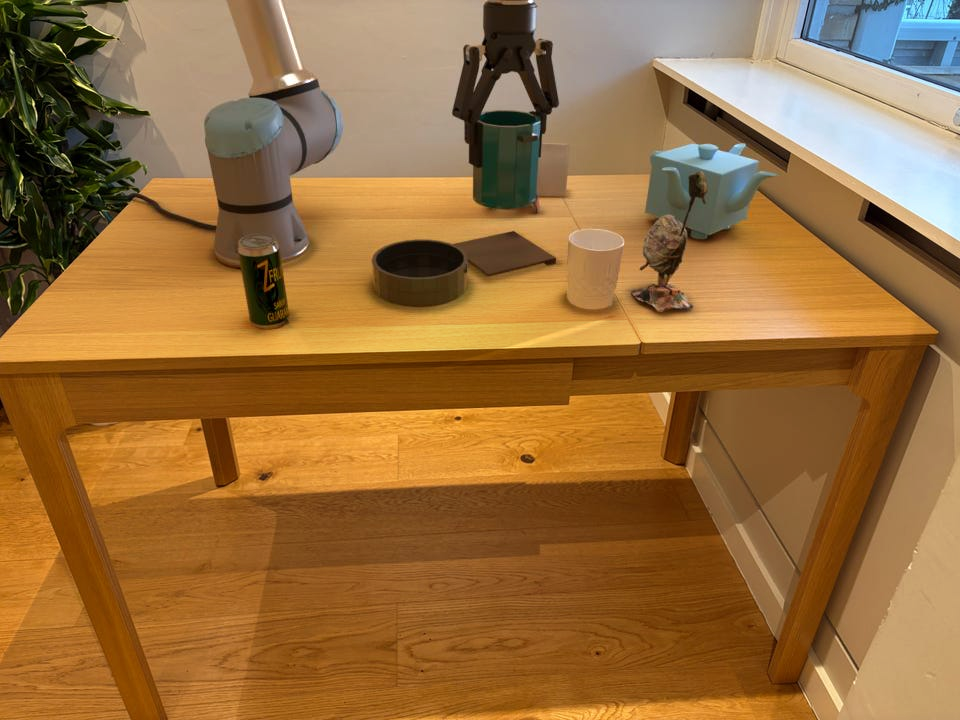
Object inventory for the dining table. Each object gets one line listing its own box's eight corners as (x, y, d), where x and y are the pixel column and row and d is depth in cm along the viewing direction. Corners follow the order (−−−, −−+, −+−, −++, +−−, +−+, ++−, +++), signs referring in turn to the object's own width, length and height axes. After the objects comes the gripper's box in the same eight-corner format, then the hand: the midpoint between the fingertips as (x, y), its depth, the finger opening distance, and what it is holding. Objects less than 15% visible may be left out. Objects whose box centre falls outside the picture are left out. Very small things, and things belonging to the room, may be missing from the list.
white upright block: (565, 196, 146) (569, 147, 140) (532, 195, 146) (535, 145, 141) (565, 190, 149) (569, 141, 143) (532, 189, 149) (535, 140, 144)
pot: (456, 191, 118) (456, 112, 111) (508, 181, 122) (511, 105, 115) (499, 217, 108) (501, 132, 101) (553, 206, 112) (559, 124, 106)
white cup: (581, 285, 112) (587, 224, 107) (626, 300, 108) (634, 238, 103) (552, 303, 107) (557, 240, 102) (598, 320, 103) (605, 255, 97)
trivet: (448, 250, 123) (448, 244, 122) (513, 236, 128) (513, 230, 128) (488, 280, 113) (488, 274, 113) (555, 263, 119) (556, 257, 118)
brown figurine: (672, 280, 114) (694, 154, 103) (697, 315, 105) (725, 180, 94) (622, 282, 113) (639, 155, 103) (643, 316, 104) (664, 181, 93)
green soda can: (242, 324, 100) (227, 243, 94) (269, 308, 104) (256, 230, 98) (271, 334, 98) (258, 252, 92) (298, 317, 102) (287, 238, 96)
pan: (359, 279, 112) (357, 250, 110) (440, 261, 119) (440, 233, 116) (398, 318, 102) (396, 287, 99) (484, 296, 108) (485, 266, 106)
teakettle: (637, 206, 142) (648, 130, 134) (734, 209, 141) (750, 133, 133) (651, 244, 126) (664, 161, 118) (760, 248, 125) (780, 164, 117)
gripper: (451, 7, 92) (452, 178, 104) (592, 0, 102) (578, 156, 114) (425, 1, 98) (429, 164, 110) (561, -6, 108) (551, 144, 119)
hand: (505, 160), depth 112 cm, fingers closed on pot, 10 cm apart
